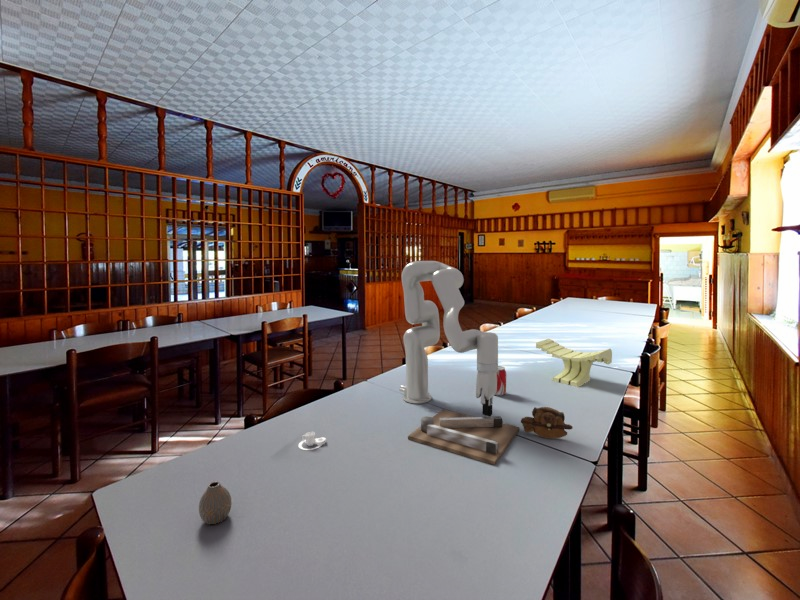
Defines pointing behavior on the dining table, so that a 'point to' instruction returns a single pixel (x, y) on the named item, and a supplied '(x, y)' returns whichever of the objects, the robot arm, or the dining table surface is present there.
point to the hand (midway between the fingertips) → (487, 414)
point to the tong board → (476, 431)
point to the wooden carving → (546, 423)
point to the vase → (215, 504)
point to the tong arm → (471, 422)
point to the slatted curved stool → (574, 362)
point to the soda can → (501, 381)
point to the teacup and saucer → (311, 441)
